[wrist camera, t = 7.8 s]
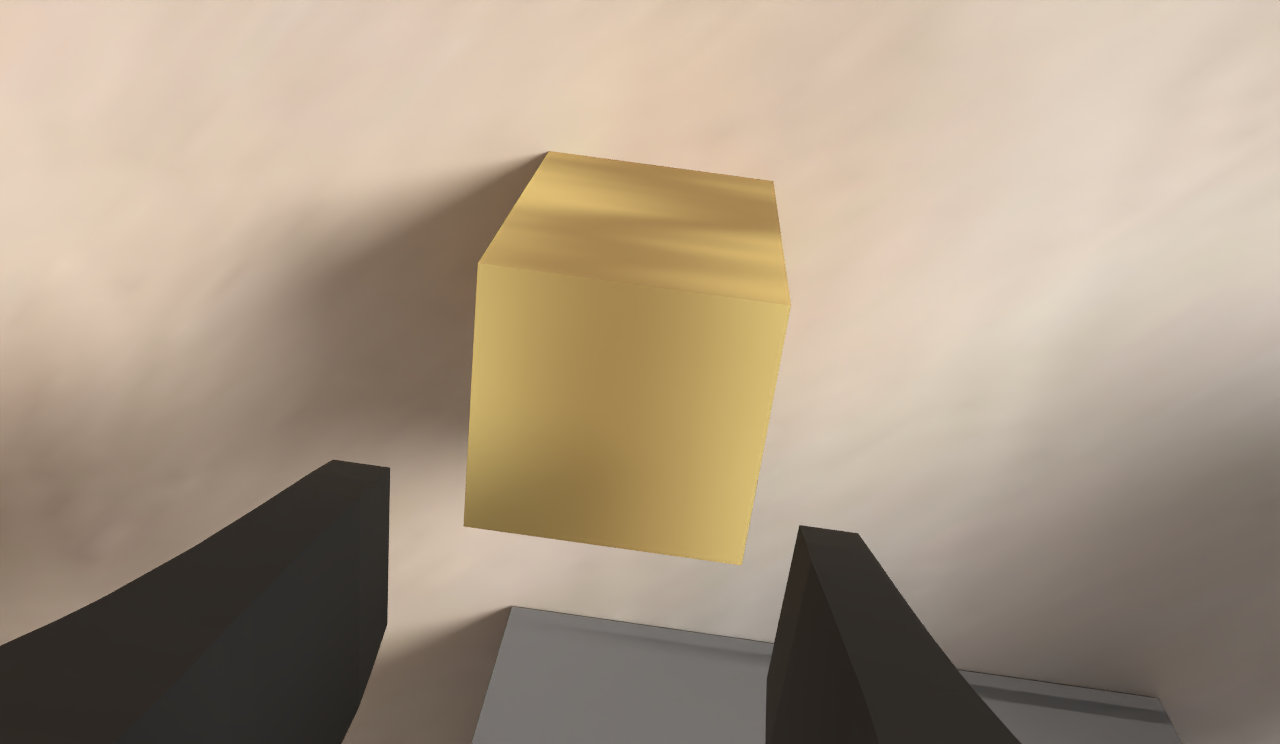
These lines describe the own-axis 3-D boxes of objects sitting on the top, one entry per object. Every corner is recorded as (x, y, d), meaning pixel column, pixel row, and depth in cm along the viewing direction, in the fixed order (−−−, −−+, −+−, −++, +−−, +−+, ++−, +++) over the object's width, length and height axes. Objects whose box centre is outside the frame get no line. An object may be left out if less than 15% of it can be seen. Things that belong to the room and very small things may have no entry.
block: (773, 181, 19) (790, 305, 14) (738, 382, 21) (742, 565, 15) (549, 150, 19) (477, 263, 14) (532, 354, 21) (463, 526, 15)
